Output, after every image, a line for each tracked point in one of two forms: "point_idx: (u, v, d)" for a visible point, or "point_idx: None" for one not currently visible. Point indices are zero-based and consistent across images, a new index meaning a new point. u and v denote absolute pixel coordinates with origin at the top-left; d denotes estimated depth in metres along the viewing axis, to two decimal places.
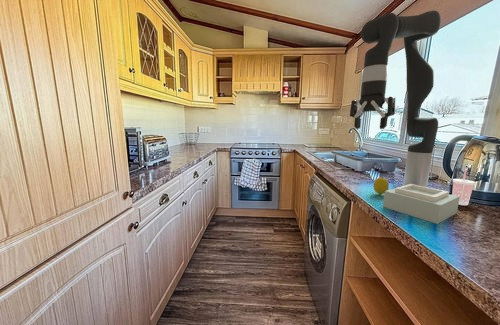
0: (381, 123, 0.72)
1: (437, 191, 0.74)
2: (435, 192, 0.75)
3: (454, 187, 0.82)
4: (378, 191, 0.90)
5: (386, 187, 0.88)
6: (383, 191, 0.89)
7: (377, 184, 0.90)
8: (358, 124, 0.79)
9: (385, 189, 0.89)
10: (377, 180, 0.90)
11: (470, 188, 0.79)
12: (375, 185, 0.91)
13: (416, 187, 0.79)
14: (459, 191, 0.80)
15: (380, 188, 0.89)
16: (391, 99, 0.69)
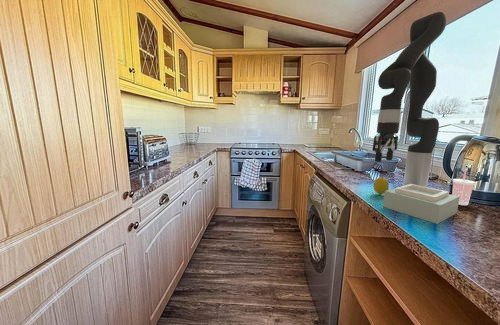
0: (392, 156, 0.90)
1: (437, 191, 0.74)
2: (435, 192, 0.75)
3: (454, 187, 0.82)
4: (378, 191, 0.90)
5: (386, 187, 0.88)
6: (383, 191, 0.89)
7: (377, 184, 0.90)
8: None
9: (385, 189, 0.89)
10: (377, 180, 0.90)
11: (470, 188, 0.79)
12: (375, 185, 0.91)
13: (416, 187, 0.79)
14: (459, 191, 0.80)
15: (380, 188, 0.89)
16: None
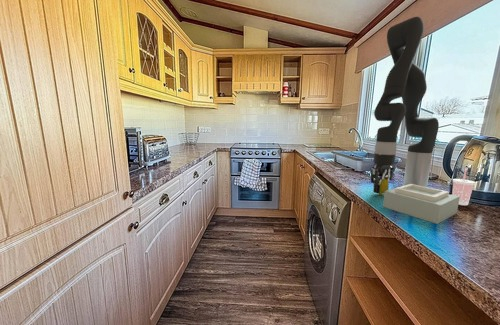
0: None
1: (437, 191, 0.74)
2: (435, 192, 0.75)
3: (454, 187, 0.82)
4: None
5: (386, 187, 0.88)
6: (383, 191, 0.89)
7: None
8: None
9: (385, 189, 0.89)
10: None
11: (470, 188, 0.79)
12: None
13: (416, 187, 0.79)
14: (459, 191, 0.80)
15: (380, 188, 0.89)
16: None
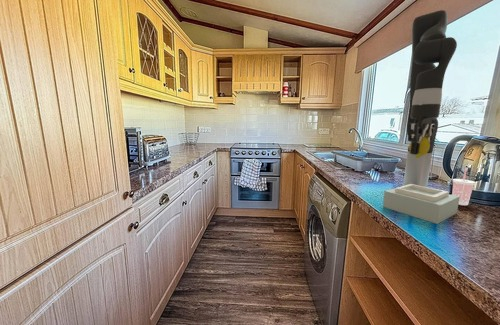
0: None
1: (437, 191, 0.74)
2: (435, 192, 0.75)
3: (454, 187, 0.82)
4: None
5: (427, 146, 0.71)
6: (423, 152, 0.72)
7: None
8: None
9: (426, 149, 0.72)
10: None
11: (470, 188, 0.79)
12: None
13: (416, 187, 0.79)
14: (459, 191, 0.80)
15: (419, 148, 0.72)
16: None
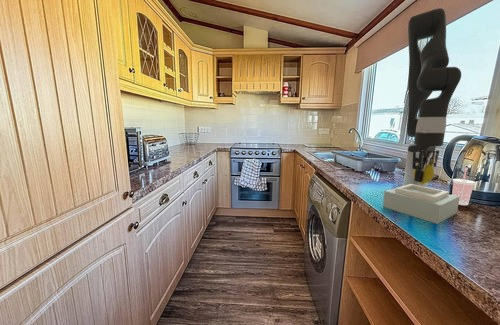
0: None
1: (437, 191, 0.74)
2: (435, 192, 0.75)
3: (454, 187, 0.82)
4: None
5: (431, 174, 0.71)
6: (427, 179, 0.71)
7: None
8: None
9: (430, 177, 0.71)
10: None
11: (470, 188, 0.79)
12: None
13: (416, 187, 0.79)
14: (459, 191, 0.80)
15: None
16: None
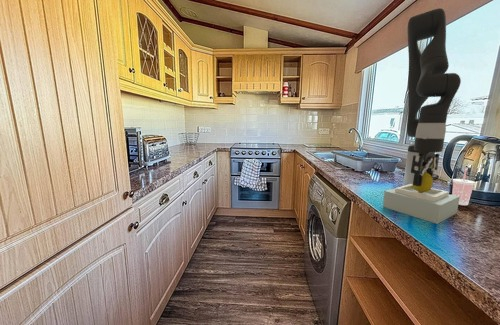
0: (432, 178, 0.75)
1: (437, 191, 0.74)
2: (435, 192, 0.75)
3: (454, 187, 0.82)
4: (419, 189, 0.73)
5: (430, 184, 0.71)
6: (426, 189, 0.72)
7: None
8: None
9: (429, 187, 0.71)
10: None
11: (470, 188, 0.79)
12: None
13: None
14: (459, 191, 0.80)
15: (422, 185, 0.72)
16: None
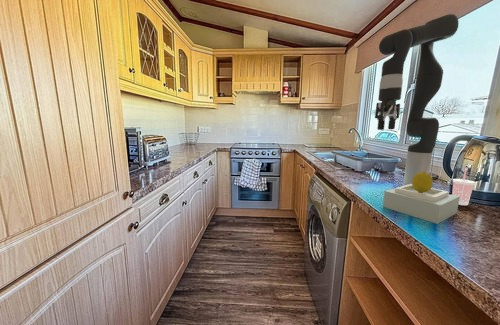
0: (394, 124, 0.88)
1: (437, 191, 0.74)
2: (435, 192, 0.75)
3: (454, 187, 0.82)
4: (419, 189, 0.73)
5: (430, 184, 0.71)
6: (426, 189, 0.72)
7: (418, 180, 0.73)
8: None
9: (429, 186, 0.71)
10: (418, 175, 0.73)
11: (470, 188, 0.79)
12: (415, 182, 0.73)
13: None
14: (459, 191, 0.80)
15: (422, 185, 0.72)
16: None
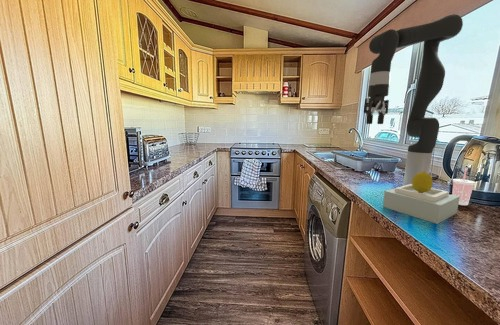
0: (383, 119, 0.93)
1: (437, 191, 0.74)
2: (435, 192, 0.75)
3: (454, 187, 0.82)
4: (419, 189, 0.73)
5: (430, 184, 0.71)
6: (426, 189, 0.72)
7: (418, 180, 0.73)
8: None
9: (429, 186, 0.71)
10: (418, 175, 0.73)
11: (470, 188, 0.79)
12: (415, 181, 0.73)
13: None
14: (459, 191, 0.80)
15: (422, 185, 0.72)
16: (388, 102, 0.93)
